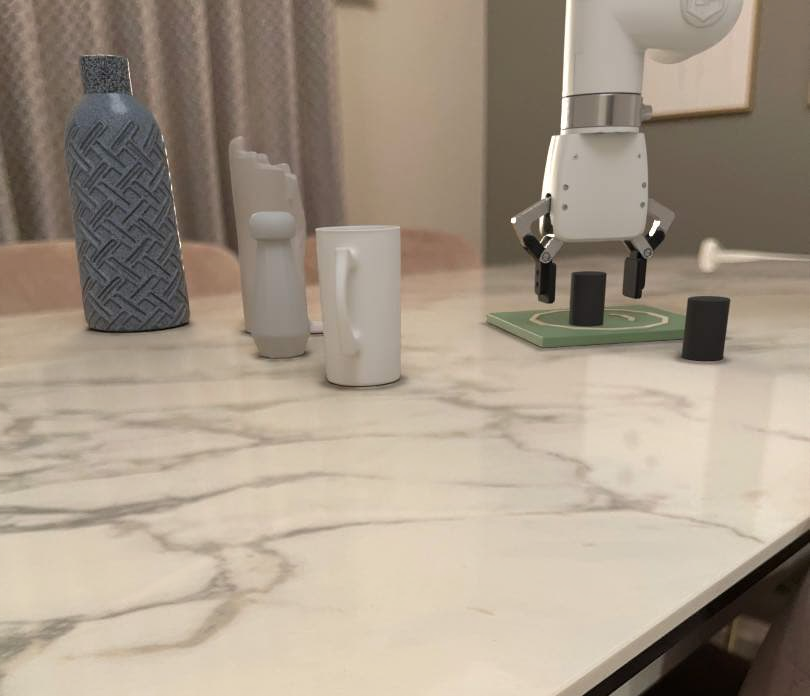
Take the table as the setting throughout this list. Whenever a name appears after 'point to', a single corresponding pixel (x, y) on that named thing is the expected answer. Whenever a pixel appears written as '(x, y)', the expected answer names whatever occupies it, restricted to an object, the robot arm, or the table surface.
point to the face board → (616, 326)
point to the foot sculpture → (264, 192)
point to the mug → (360, 303)
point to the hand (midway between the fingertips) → (589, 299)
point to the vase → (122, 206)
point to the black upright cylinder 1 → (587, 298)
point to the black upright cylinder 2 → (705, 328)
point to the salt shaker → (277, 288)
